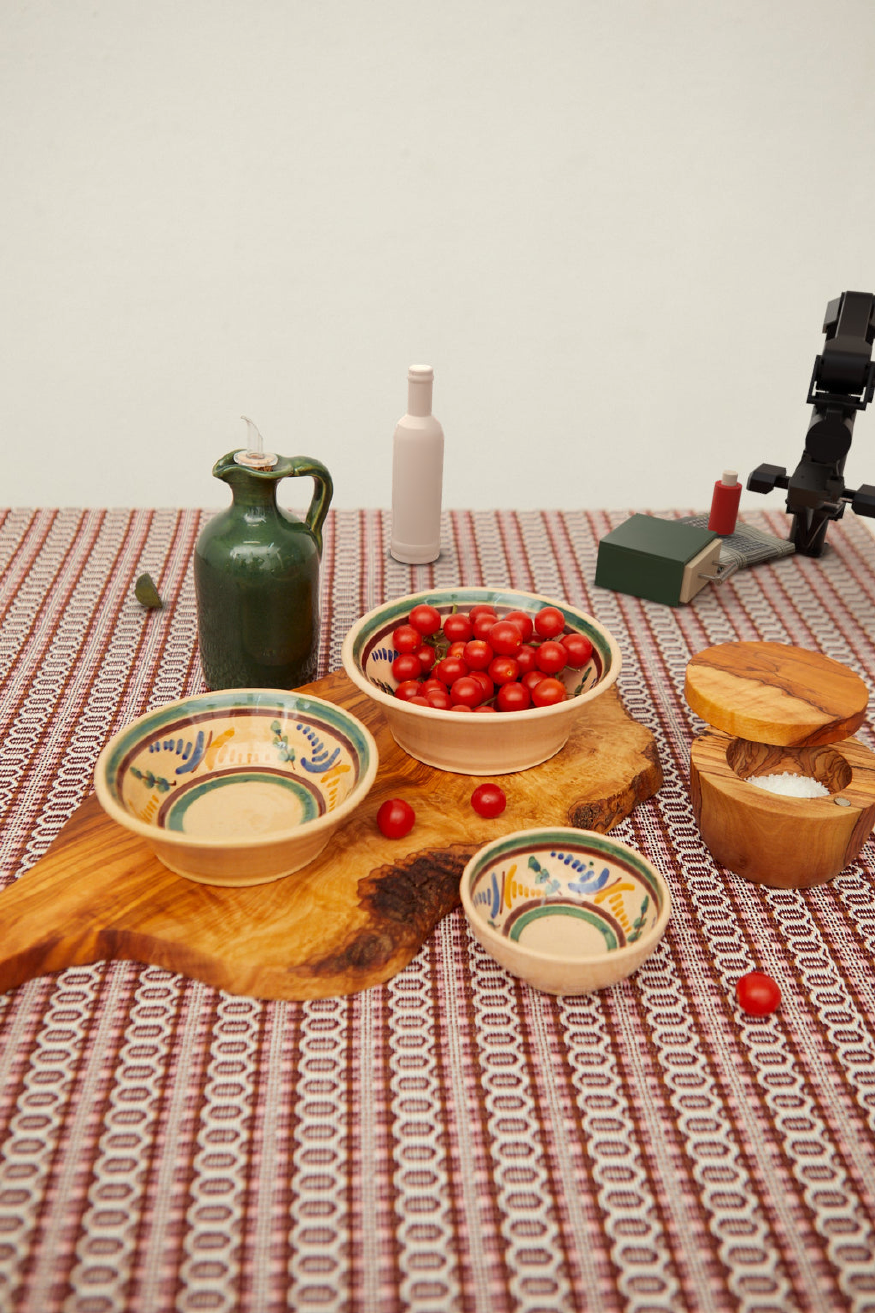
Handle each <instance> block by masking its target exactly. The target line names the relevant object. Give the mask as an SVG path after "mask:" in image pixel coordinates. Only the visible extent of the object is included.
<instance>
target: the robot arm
mask: <svg viewBox="0 0 875 1313" xmlns="http://www.w3.org/2000/svg"><path fill="white" fill-rule="evenodd" d="M821 334H825V339H824V344H823V348H822V353H821V354H816V355H815V359H814V363H813V368H812V373H811V377H810V382H809V386H808V392H807V397H806V400H805V404H807V405H813V406H812V410H811V416H810V420H809V424H808V427H807V431H806V435H805V438H804V449H803V450H802V453H801V454H802V455H801V458H800V461H799V462H798V464H797V466H796V467H795V469H794V472H793V473H792V475H791V476H790V475H787V473H788V472H787V467H784V466H779V465H774V464H769V463H765V462H763V463H761V464H760V465H758V466H756V468H754V469H753V470H752V471H751V472H750V473H749V474H748V477H747V482H746V487H745V489H746V490H747V491H748V492H752V493H756V494H760V495H765V496H766V495H768V494H770V493H771V492H773V491H774V490H775V489H782V490H786V491H787V495H786V498H785V500H784V504H785V505H786V508H785V514H786V515H793V516H792V520H791V525H790V530H789V535H788V537H787V539H786V540H785V541H788V542H791V543H794V544H795V552H794V553H797V554H801V555H805V556H809V557H810V556H811V557H814V558H820V557H821V556H823V554H824V553H825V551H827V549H829V546H830V543H829V542H826V541H825V540H826V536H827V531H828V527H829V522H830V521H834V522H838V521H839V520H843V518H844V514H845V510H846V505H847V504H850V505H851V506H850V509H851V510H852V512H853V513H854V515H856V516H859V517H860V516H861V517H866V518H870V519H874V520H875V485H871V484H866V483H862V485H861V486H860V487H858V489H851V488H847V487H846V484H845V476H844V471H845V467H846V463H847V457H848V454H849V451H850V449H851V448H852V443H853V437H854V428H855V423H856V417H857V414H858V411H862V412H866V411H867V406H868V404H872V403H873V402H874V401H873V400H874V396H875V360H872V356H873V347H874V343H875V342H874V341H875V294H874V293H873V292H868V291H867V292H866V291H856V290H846V291H841V293H840V296H839V297H836V298H834V299H832V300H829V301H828V302H827V305H826V310H825V314H824V319H823V323H822V330H821ZM814 389H815V390H816V391H815V394H814V395H813V393H814ZM862 396H863V400H861V399H862Z"/></svg>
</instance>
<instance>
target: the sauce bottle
mask: <svg viewBox="0 0 875 1313" xmlns="http://www.w3.org/2000/svg"><path fill="white" fill-rule="evenodd" d="M738 477H739V472H738V471H735V470H731V469H726V470H723V471H722V476H721V479H718V480H716V481H715V482H714V486H713V492H712V499H711V505H710V517H709V523H708V530H711V531H715V532H717V534H721V535H729V534H732V533H734V532H735V526H736V520H738V513H739V508H740V502H741V497H742V490H743V484H742V483H740V482H738Z"/></svg>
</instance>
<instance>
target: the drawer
mask: <svg viewBox="0 0 875 1313" xmlns="http://www.w3.org/2000/svg"><path fill="white" fill-rule="evenodd" d="M721 546H722V540H720V539H716V538H715V539H714V540H713V541H712V542H711V543H710V544H708V545H707V546H706V547H704V548H703V549H702V550H701V551H699V552H698V553H697V554H696V555H695V556H694V557H693V558H692V559H691V560H690V561H688V562H687V563H686V564H685V568H684V574H683V580H682V587H681V593H680V600H679V601H680V602H682V603H684V604H688V603H689V602H690V601H691V600H692V599H693V598H694V597H695V596H696V595H697V594H698V593H699V592H700V591H701V590H702V589H703V588H704V587H705V586H706V585H707V584H708V583H709V582H713V584H714V585H715V586H716V587H721V586H722V585H723V584H725V583H726V582H727V580H729V579H730V578H731V576H733V574H735V573H736V571H737V570H739V569H738V565H737V563H735V562H731V563H730V564H727V563H723V562H719V557H720V552H721ZM718 566H719V567H723V568H725V569H724V570H723V571H722V572H720V573H719V574H718V575H717V572H718V570H717V569H718Z"/></svg>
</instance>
